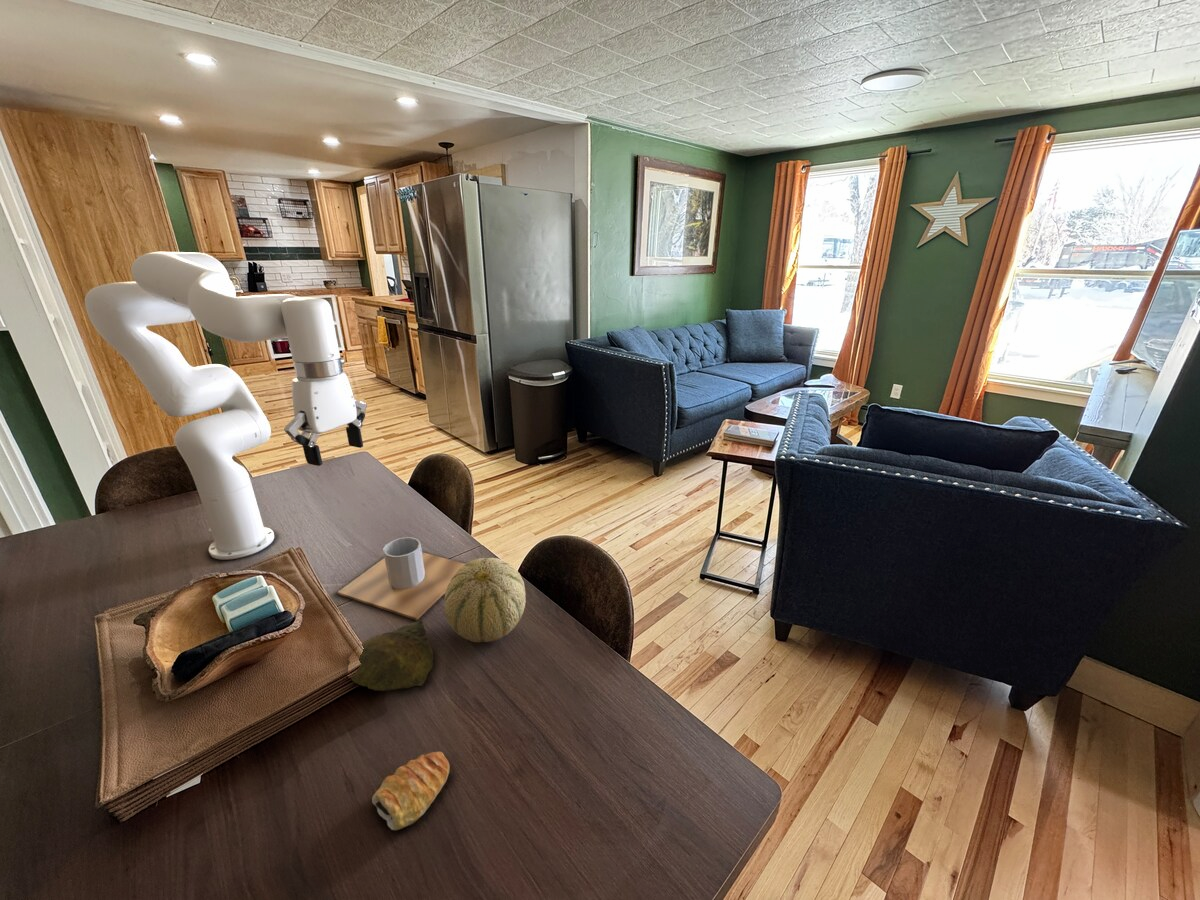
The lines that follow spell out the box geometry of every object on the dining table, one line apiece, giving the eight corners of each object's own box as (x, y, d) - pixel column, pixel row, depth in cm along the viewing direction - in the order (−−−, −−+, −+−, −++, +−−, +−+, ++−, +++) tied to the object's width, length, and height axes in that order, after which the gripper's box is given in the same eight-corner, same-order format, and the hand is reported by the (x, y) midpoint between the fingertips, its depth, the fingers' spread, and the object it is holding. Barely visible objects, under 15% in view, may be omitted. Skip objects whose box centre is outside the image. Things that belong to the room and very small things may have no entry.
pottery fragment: (348, 713, 72) (343, 693, 71) (347, 648, 84) (343, 630, 82) (439, 682, 78) (436, 663, 76) (426, 625, 89) (424, 608, 88)
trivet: (337, 594, 97) (337, 592, 97) (400, 548, 113) (400, 546, 112) (416, 620, 91) (416, 618, 90) (471, 567, 106) (471, 565, 106)
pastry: (430, 749, 67) (428, 730, 66) (462, 778, 64) (460, 759, 62) (368, 807, 60) (363, 787, 59) (400, 843, 56) (396, 823, 55)
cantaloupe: (499, 593, 98) (495, 531, 93) (543, 631, 89) (541, 565, 83) (432, 628, 89) (423, 562, 83) (473, 675, 79) (466, 603, 74)
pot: (381, 584, 99) (375, 552, 96) (405, 564, 106) (400, 534, 103) (409, 592, 97) (403, 560, 94) (432, 572, 103) (427, 541, 100)
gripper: (342, 358, 95) (356, 437, 101) (258, 376, 80) (281, 468, 86) (371, 362, 92) (384, 443, 99) (290, 381, 77) (312, 475, 84)
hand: (336, 455), depth 93 cm, fingers open, 9 cm apart
